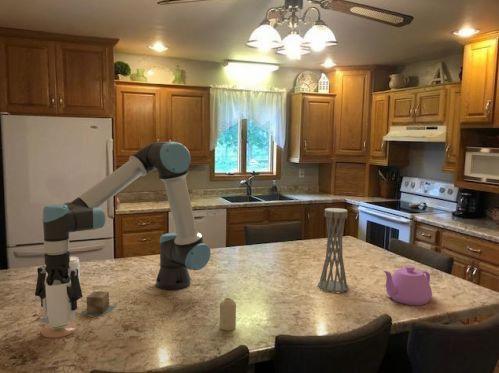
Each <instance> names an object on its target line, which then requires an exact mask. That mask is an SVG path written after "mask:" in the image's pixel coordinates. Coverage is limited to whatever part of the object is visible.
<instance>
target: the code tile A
mask: <svg viewBox="0 0 499 373" xmlns="http://www.w3.org/2000/svg"><path fill="white" fill-rule="evenodd" d="M79 313H80V312H78V311H77V312H76V311H75V314H76V316H78V315H80V314H79ZM37 322H41V323H49V318H48V317H46V318H43V317H42V318H40V319H39V320H37ZM49 324H50V323H49Z"/></svg>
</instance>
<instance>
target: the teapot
mask: <svg viewBox="0 0 499 373" xmlns="http://www.w3.org/2000/svg"><path fill="white" fill-rule="evenodd" d="M383 272H384V274H385V275H386V279H385V288H386V290H385V291H386V293H387V295H388V296H389V297H391V298H392V299H391V298H390V299H391V300H393V301H394V300H395V302H396V301H397V303H399V302H400V303H399V304H402V303H404V304H403V305H407V304H409V306H423V305H425V303H426V304H427V303H428V302H430V301H431V300H432V297H433V291H432V287H431V283H430V280H431V274H430V273H429V272H428V271H427V270H419V269H416V267H415V266H412V265H406V266H405V268H404V267H402V268H398V269H396V270H395V271H394V272H393V274H392V273H391V272H390V271H387V270H383ZM422 304H423V305H422Z"/></svg>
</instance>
